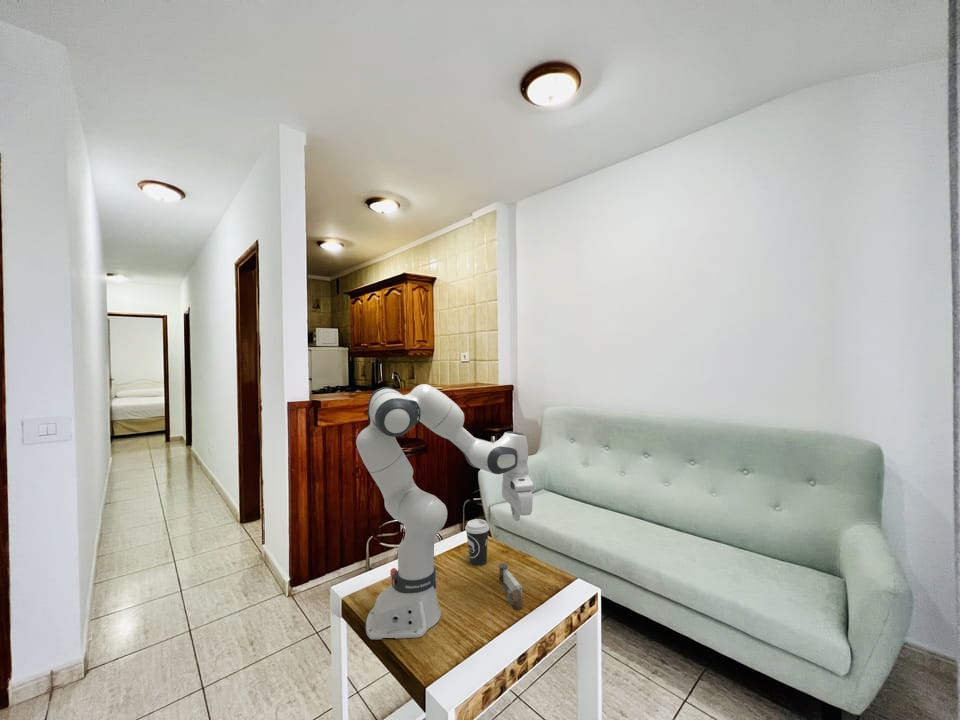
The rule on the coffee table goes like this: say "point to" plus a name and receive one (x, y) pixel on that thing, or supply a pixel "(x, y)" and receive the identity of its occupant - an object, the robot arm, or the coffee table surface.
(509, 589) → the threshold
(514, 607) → the brown rounded cylinder
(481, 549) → the coffee cup
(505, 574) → the white long block
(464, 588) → the coffee table surface
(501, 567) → the hinge post
